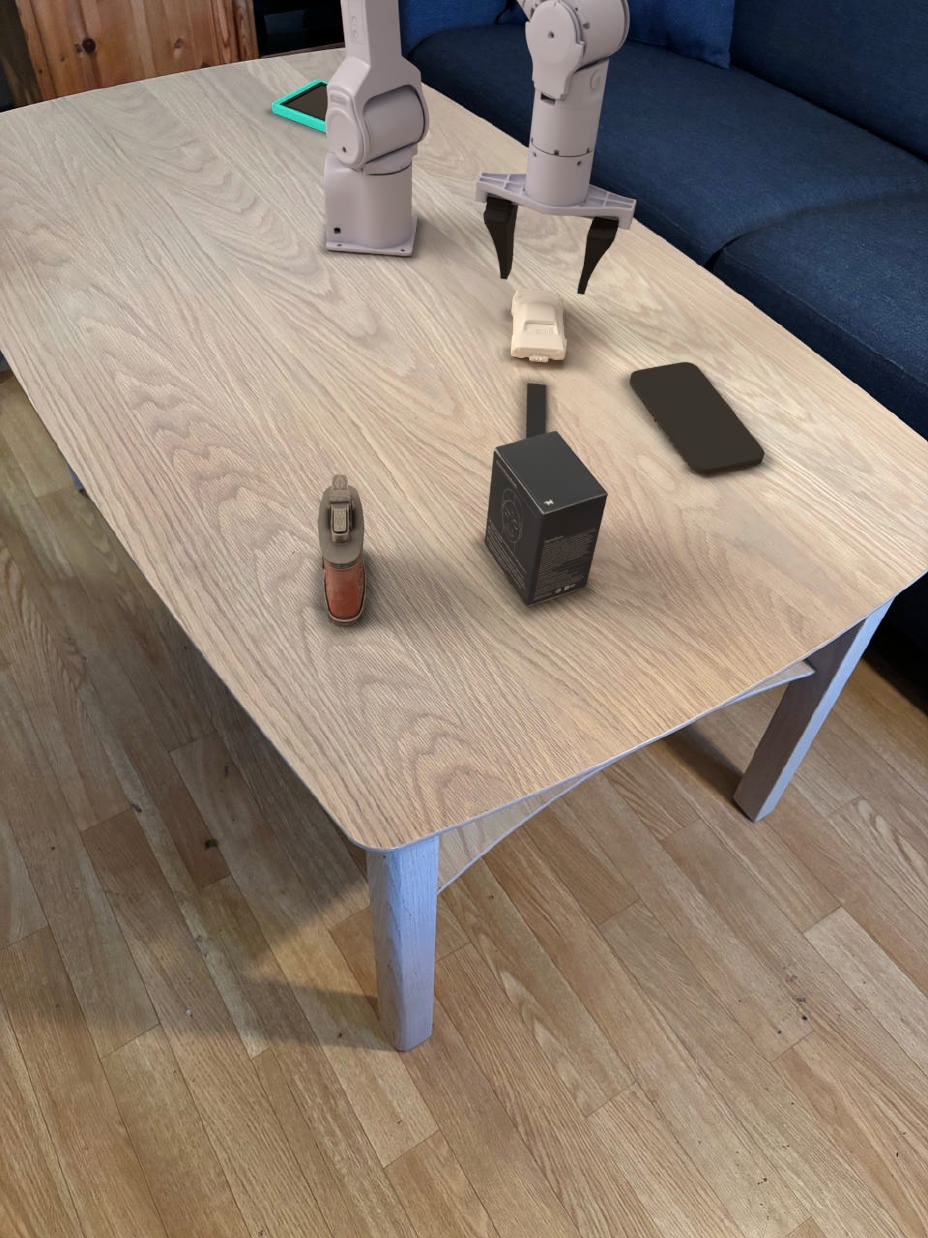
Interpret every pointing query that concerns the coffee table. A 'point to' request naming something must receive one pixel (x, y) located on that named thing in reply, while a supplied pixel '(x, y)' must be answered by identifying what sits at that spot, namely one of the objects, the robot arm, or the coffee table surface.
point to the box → (543, 516)
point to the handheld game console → (305, 105)
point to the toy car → (538, 325)
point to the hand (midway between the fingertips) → (543, 281)
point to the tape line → (536, 410)
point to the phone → (696, 418)
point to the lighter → (342, 552)
